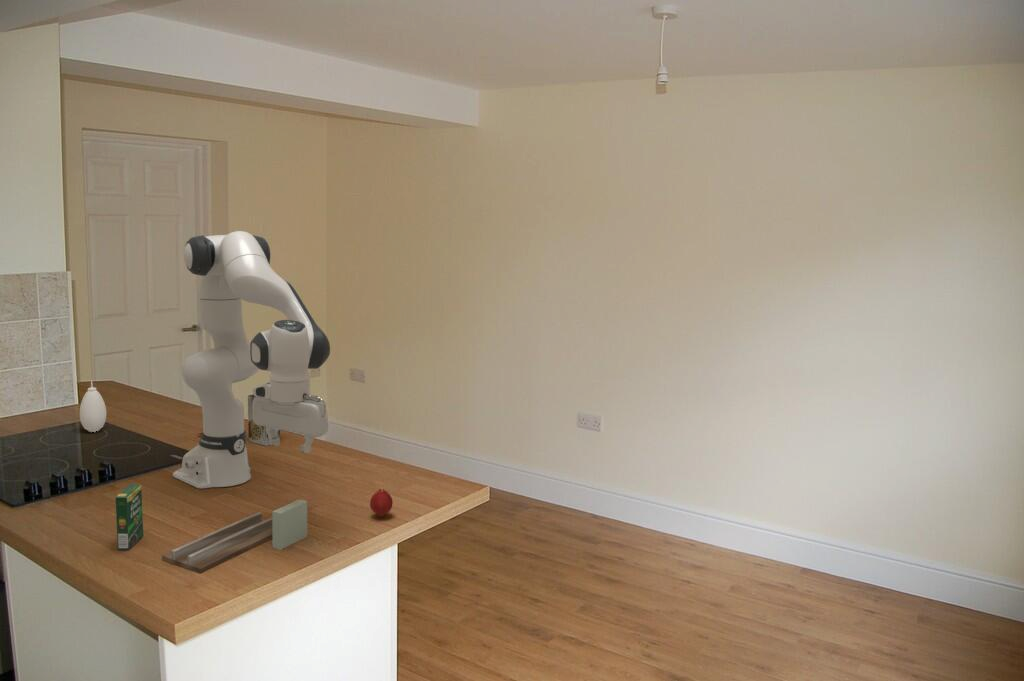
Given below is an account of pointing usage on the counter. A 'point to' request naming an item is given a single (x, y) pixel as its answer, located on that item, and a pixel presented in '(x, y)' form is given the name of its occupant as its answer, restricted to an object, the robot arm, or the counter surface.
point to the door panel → (289, 524)
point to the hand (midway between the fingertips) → (290, 448)
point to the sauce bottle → (92, 410)
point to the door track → (222, 544)
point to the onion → (381, 502)
